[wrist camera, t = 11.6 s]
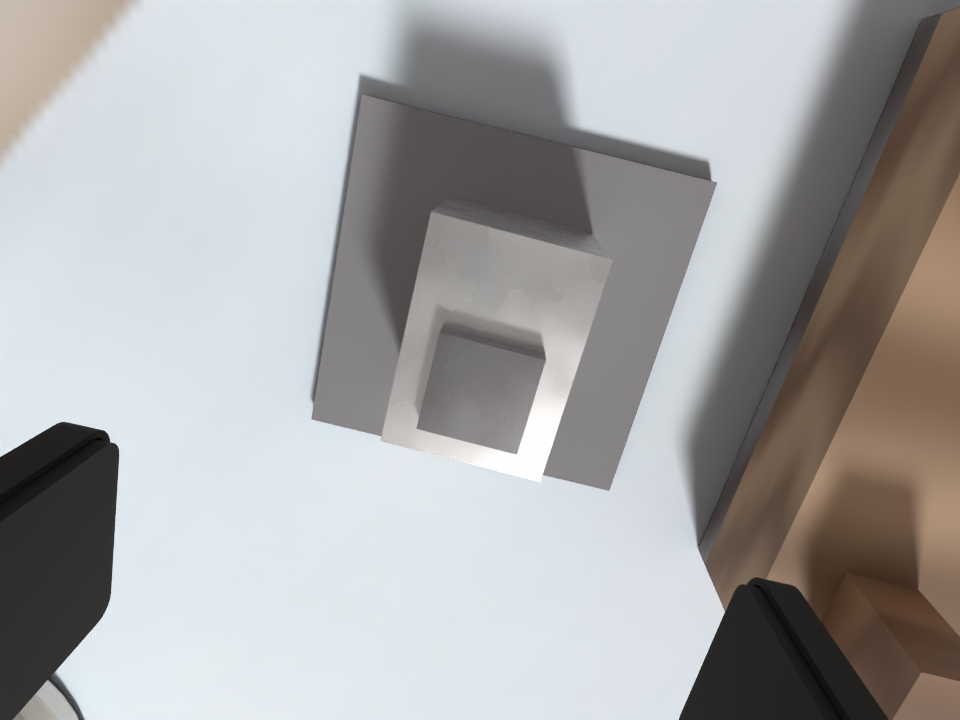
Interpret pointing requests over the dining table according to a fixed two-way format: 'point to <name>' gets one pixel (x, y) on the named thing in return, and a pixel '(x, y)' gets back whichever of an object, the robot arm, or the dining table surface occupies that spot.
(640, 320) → the rubber mat
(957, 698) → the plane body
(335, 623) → the dining table surface
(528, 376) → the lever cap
